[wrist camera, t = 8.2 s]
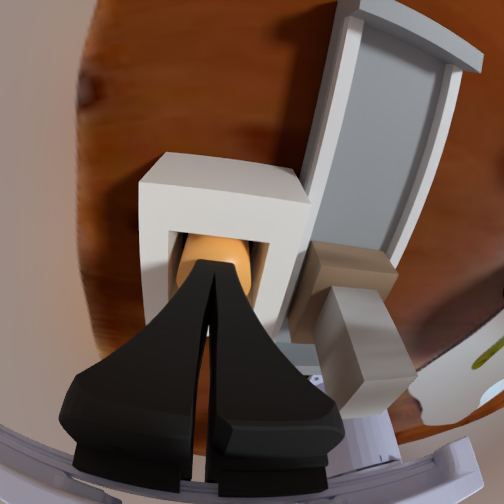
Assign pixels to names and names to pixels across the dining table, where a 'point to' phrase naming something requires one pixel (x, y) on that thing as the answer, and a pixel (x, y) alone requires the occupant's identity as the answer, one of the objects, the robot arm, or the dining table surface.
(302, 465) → the robot arm
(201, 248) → the orange egg
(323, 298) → the carriage
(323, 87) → the rail track
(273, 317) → the white hollow block
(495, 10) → the dining table surface
